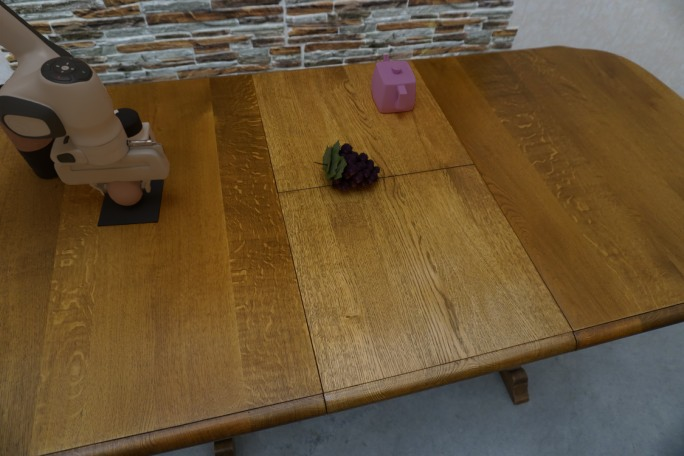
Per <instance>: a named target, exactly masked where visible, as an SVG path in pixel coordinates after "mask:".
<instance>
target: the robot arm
mask: <svg viewBox="0 0 684 456" xmlns="http://www.w3.org/2000/svg"><path fill="white" fill-rule="evenodd" d="M0 46H1V47H2V48H4V49H5V50H6V51H8V52H9V53H10V54H12V56H14V58H15V59H16V61H17V67H16V69H14V71H13V73H12V74H11V75H10V76H9V78H7V80H6V81H5V82H4V83H3V84H4V85H3V86H2V88H1V89H0V122H1V123H2V124H3V125H4V126H5V127H6V128H7V129H9V130H10V131H11V132H13V133H14V134H16V135H18V136H20V137H23V138H28V139H49V138H56V139H55V141H54V143H53V146H52V150H51V155H50V157H51V159H52V160H53V162H55V164H54V167H55V170H56V172H57V174H58V176H59V177H58V178H59V179H60V180H61V182H62V183H64V184H66V185H69V186H77V185H89V186H90V188H91V187H92V188H93V189H95V190H97V192H99V193H100V194H101V196H104V195H109V193H108V191H107V187H106V184H107V183H110V182H114V181H123V182H126V181H143V182H141V187H140V189H141V190H142V193H149V192H150V190H151V186H150V182H151V180H159V179H164V180H166V179H167V178H168V177H169V176H170V171H171V163H170V161H169V159H168V157H167V155H166V151H165V149H164V145H163V144H162V143H161V142H158V141H156V142H155V141H153V140H151V139H146V140H128V137H127V135H126V133H125V131H124V128H123V126H122V124H121V122H120V120H119V118H118V117H117V116H116V115H115V113H114V110H115V107H114V103H113V101H112V98H111V96H110V94H109V92H108V90H107V88H106V86H105V85H104V83H103V82H104V81H102V79H101V77H100V75H98V73H97V71H95V69H93V67H91V65H90V64H89V63H87V62H86V61H85V60H83V59H81V58H79V57H78V58H77V57H75V56H74V55H72V54H71V53H70V52H69V51H67V50H66V49H64V48H63V47H61V46H59V45H58V44H57V43H55V42H54V41H51V40H50V39H48V38H47V36H44V35H43V34H42V33H41V32H39V31H38V29H36V28H34V26H33V25H32V24H30V23H29V22H28V21H26V20H25V19H24V18H23V17H22V16H20V15H19V14H18V13H16V12H15V11H14V10H13V9H12V8H11V7H10V6H8V5H7V4H6V3H5V2H4V1H2V0H0Z"/></svg>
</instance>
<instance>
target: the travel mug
mask: <svg viewBox="0 0 684 456" xmlns="http://www.w3.org/2000/svg"><path fill="white" fill-rule="evenodd" d="M4 84H5V83H1V84H0V89H1V88H2V86H3V85H4ZM0 127H1V129H2V130H3V132H4V134H5V135H6V136H7V138H8V139H9V141H10V142H11V143H12V145H13V146H14V147H15V149H16V151H17V152H18V153H19V154H20V155H21V157H22V158H23V159H24V161H25V163H26V164H27V165H28V166H29V167H30V168H31V170H32V171H33V172H34V174H35V175H36V176H37V177H38V178H40V179H43V180H51V179H55V178H60V177H59V176H58V174H57V172H56V170H55V167H54V164H55V162H53V160H52V159H51V157H50V155H51V150H52V146H53V143H54V141H55V139H56V138H49V139H28V138H23V137H20V136H18V135H16V134H14V133H13V132H11V131H10V130H9V129H7V128H6V127H5V126H4V125H3V124H2V123H1V122H0Z"/></svg>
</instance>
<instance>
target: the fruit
mask: <svg viewBox="0 0 684 456" xmlns="http://www.w3.org/2000/svg"><path fill="white" fill-rule="evenodd" d="M353 149H354V148H353V146H352V144H350V143H349V142H344V143H343V144H342V145H341V142H340V139H338V140H337V141H335V143H333V144H331V145H328V144H327V145H326V148H325V149H324V153H323V155H322V161H321V162H322V163H321V162H317V161H314V162H313V163H314V164H318V165H321V166H322V168H321V169H322V171H323V172H324V175H325V180H327V181H328V184H329V186H330V187H333V185H334V187H335V188H336V189H337V190H341V191H342V192H345V191H348V190H349V189H350V187H355V188H356V187H357V188H358V187H359V186H362V187H366V186H368V187H369V186H371V185H372V184H373V185H374V184H376V183H378V182H379V176H378V174H380V173H381V167H380V166H378V165H375V161H374V160H373V159H372V158H369V156H368V153H365V152H360V153H358V151H354V150H353ZM332 184H333V185H332Z"/></svg>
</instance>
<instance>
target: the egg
mask: <svg viewBox="0 0 684 456" xmlns="http://www.w3.org/2000/svg"><path fill="white" fill-rule="evenodd" d="M105 184H106V187H107V191H108V193H109V195H110V197H111V198H112V199H113V200H114V201H115V202H116V203H118V204H120V205H124V206H131V205H134V204H136V203H137V202H138V201H139V200H140V199H141V197H142V194H143V193H142V190H141V189H140V187H141V181H126V182H123V181H114V182H110V183H105Z"/></svg>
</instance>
